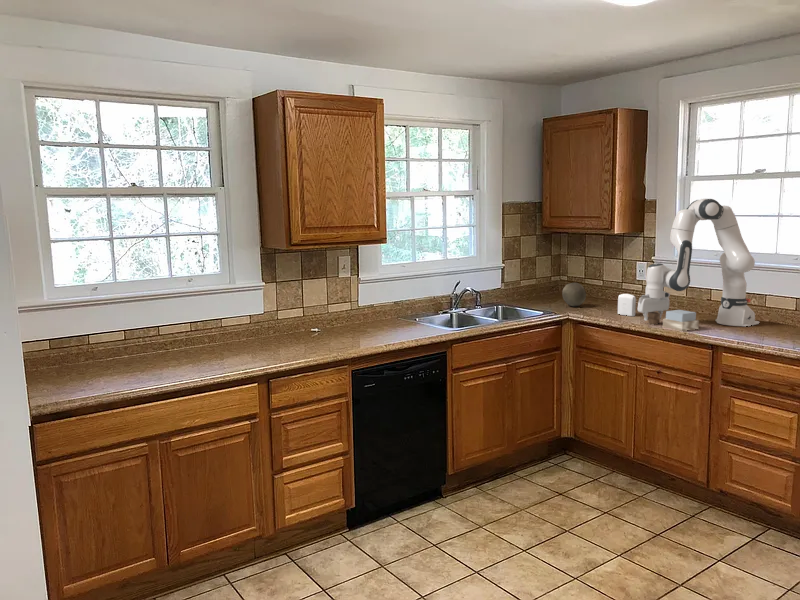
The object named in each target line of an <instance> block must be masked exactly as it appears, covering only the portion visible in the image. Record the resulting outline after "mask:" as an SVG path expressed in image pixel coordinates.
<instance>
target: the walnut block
mask: <svg viewBox="0 0 800 600" xmlns="http://www.w3.org/2000/svg"><path fill="white" fill-rule="evenodd" d="M647 316H648V317H649V320H647V321H646V320H644V323H645V324H647V323H650V324H649V325H651V324H655V325H657V324H656V323H659V324H660V322H661V321H660V320H661V319H660V313H659V312H658V311H655V312H648V314H647Z"/></svg>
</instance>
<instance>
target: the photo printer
mask: <svg viewBox="0 0 800 600" xmlns="http://www.w3.org/2000/svg"><path fill="white" fill-rule="evenodd" d="M636 306H637V299H636V296H635V295H633V294H630V293H622V294H619V295H618V298H617V315H618V314H620V315H619V316H626V315H627V317H635V316H636Z"/></svg>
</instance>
